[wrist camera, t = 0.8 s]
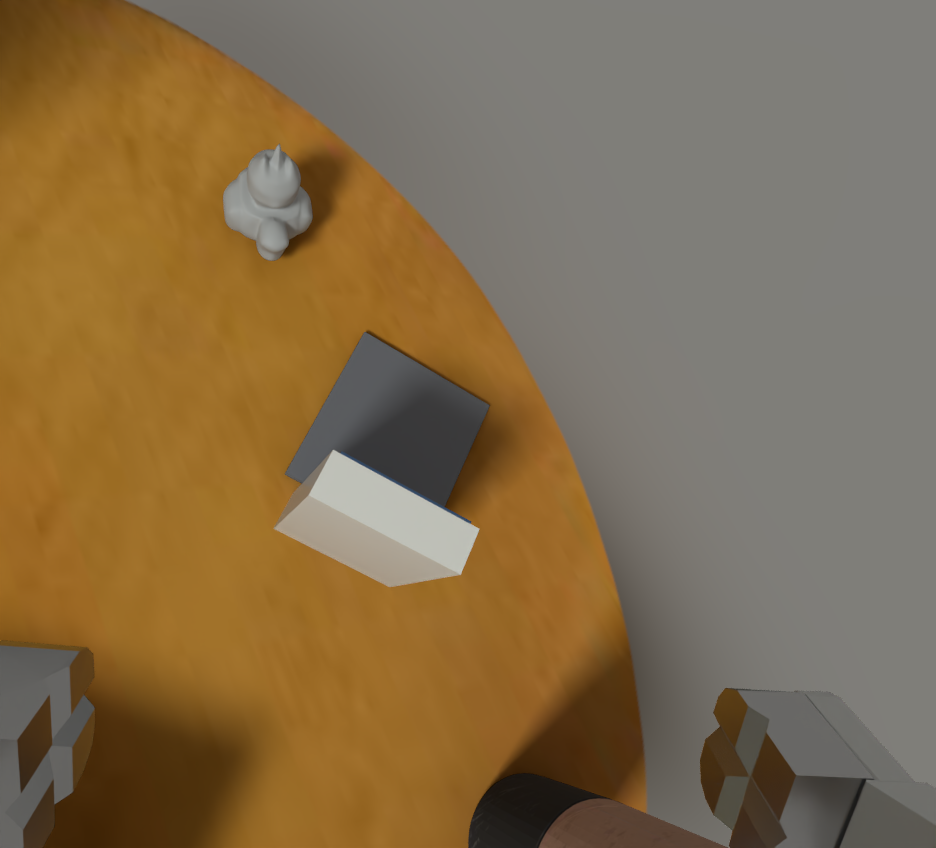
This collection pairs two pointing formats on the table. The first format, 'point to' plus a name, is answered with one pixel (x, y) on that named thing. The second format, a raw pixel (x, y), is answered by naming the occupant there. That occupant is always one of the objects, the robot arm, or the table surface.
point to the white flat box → (376, 524)
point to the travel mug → (567, 819)
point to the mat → (394, 422)
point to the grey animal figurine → (268, 203)
